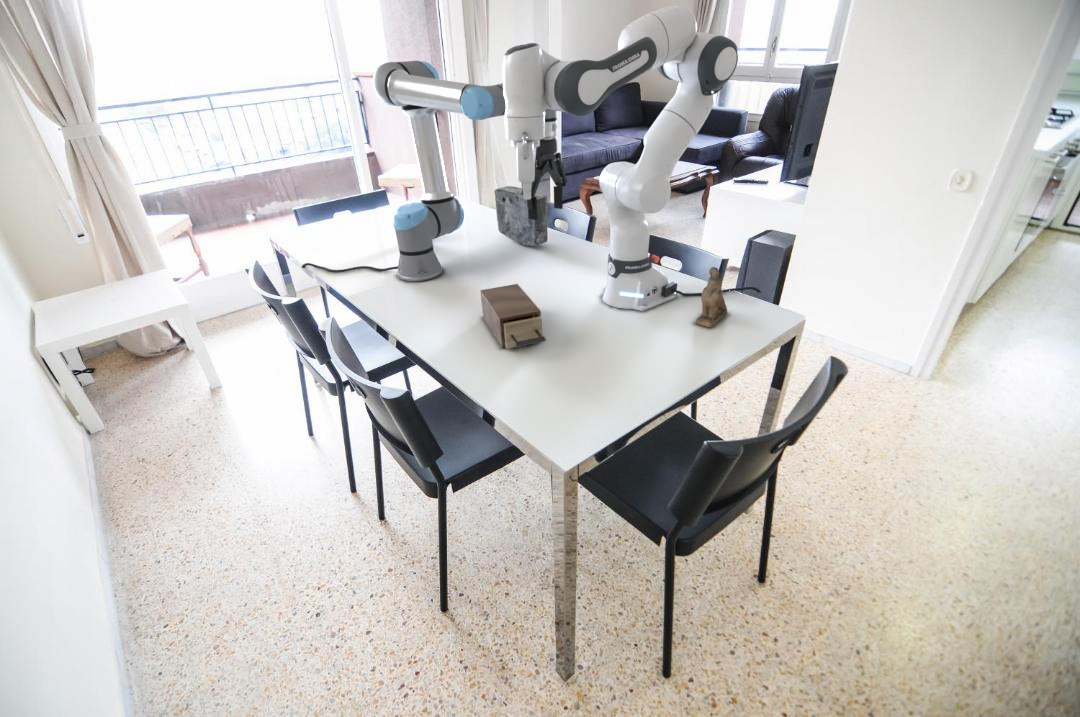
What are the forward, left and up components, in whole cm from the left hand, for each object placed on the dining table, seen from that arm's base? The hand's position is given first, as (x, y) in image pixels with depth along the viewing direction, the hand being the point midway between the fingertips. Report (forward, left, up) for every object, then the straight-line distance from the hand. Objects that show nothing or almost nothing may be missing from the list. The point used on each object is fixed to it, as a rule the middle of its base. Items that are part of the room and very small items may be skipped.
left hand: (546, 213), depth 150 cm
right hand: (+7, -30, +13) cm, 34 cm away
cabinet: (0, -31, -24) cm, 39 cm away
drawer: (+4, -35, -23) cm, 42 cm away
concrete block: (-25, +39, -24) cm, 52 cm away
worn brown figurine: (+52, -8, -24) cm, 58 cm away
